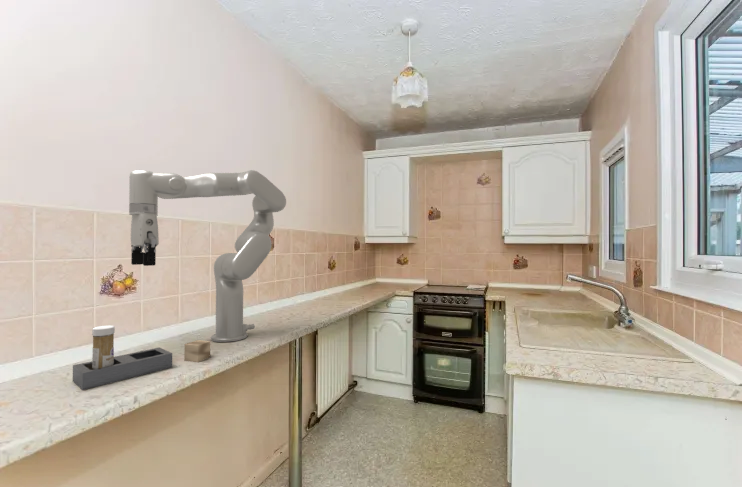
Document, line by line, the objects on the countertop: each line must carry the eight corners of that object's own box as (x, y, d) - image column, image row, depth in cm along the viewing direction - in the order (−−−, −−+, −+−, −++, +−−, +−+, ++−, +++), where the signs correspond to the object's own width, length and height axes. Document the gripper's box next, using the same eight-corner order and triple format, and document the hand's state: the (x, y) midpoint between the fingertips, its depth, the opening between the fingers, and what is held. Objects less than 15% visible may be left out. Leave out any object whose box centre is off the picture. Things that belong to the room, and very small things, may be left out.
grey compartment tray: (159, 360, 104) (159, 347, 104) (172, 367, 98) (172, 353, 98) (72, 381, 88) (72, 365, 88) (82, 390, 83) (82, 373, 83)
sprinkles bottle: (113, 380, 89) (114, 327, 89) (90, 383, 86) (91, 329, 87) (114, 374, 93) (115, 324, 93) (92, 378, 90) (93, 326, 90)
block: (197, 356, 109) (197, 340, 109) (210, 357, 108) (210, 341, 108) (184, 361, 104) (184, 344, 104) (197, 362, 103) (197, 345, 103)
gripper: (168, 209, 107) (167, 265, 107) (146, 213, 118) (145, 263, 118) (140, 207, 102) (140, 266, 101) (120, 211, 112) (119, 264, 112)
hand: (143, 265), depth 110 cm, fingers open, 9 cm apart
